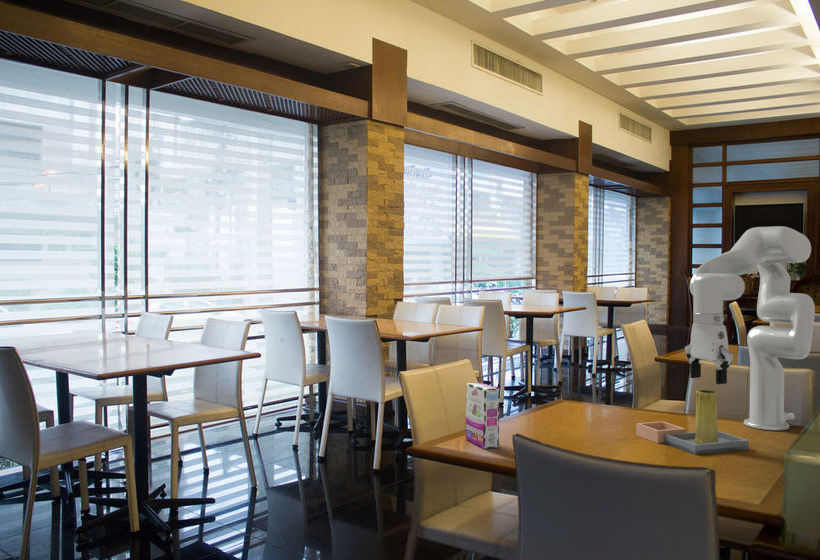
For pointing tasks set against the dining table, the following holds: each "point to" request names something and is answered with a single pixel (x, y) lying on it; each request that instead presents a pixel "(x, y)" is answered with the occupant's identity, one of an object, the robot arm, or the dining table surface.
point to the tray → (689, 445)
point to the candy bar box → (482, 415)
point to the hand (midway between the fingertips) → (708, 380)
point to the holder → (657, 430)
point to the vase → (706, 417)
